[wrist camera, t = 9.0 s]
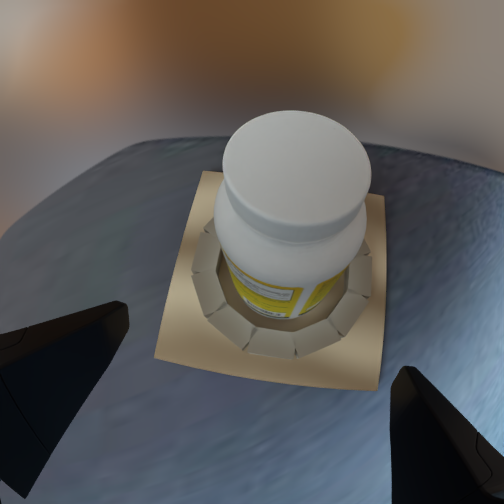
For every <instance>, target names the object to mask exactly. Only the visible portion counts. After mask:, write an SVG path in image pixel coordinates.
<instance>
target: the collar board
mask: <svg viewBox="0 0 504 504" xmlns="http://www.w3.org/2000/svg"><path fill="white" fill-rule="evenodd" d="M223 179H224V174H223V173H222V172H211V171H203V173H202V176H201V179H200V182H199V186H198V189H197V192H196V195H195V198H194V202H193V205H192V208H191V212H190V215H189V218H188V222H187V225H186V229H185V232H184V236H183V239H182V243H181V247H180V250H179V254H178V258H177V261H176V265H175V269H174V273H173V277H172V281H171V285H170V289H169V293H168V297H167V301H166V305H165V309H164V314H163V318H162V322H161V327H160V331H159V336H158V341H157V345H156V350H155V355H154V358H157V359H161V360H165V361H169V362H173V363H177V364H181V365H185V366H190V367H194V368H198V369H203V370H208V371H213V372H218V373H223V374H228V375H233V376H239V377H244V378H250V379H257V380H263V381H270V382H277V383H284V384H292V385H301V386H310V387H321V388H333V389H347V390H367V391H377V389H378V382H379V375H380V366H381V357H382V347H383V336H384V322H385V304H386V222H385V204H384V196H381V195H376V194H371V193H367V195H366V197H365V200H364V202H365V206H366V216H367V223H366V231H365V236H364V239H363V242H362V244H361V247H360V249H359V250H358V252H357V254H356V256H355V257H354V259H353V260H352V262H351V263H350V264H349V266H348V267H347V268H346V270H345V271H344V272H343V274H342V275H341V276H340V278H339V279H338V280H337V282H336V283H335V284H334V286H333V287H332V288H331V289H330V291H329V292H328V293H327V295H326V296H325V297H324V298H323V300H322V301H321V302H320V303H319V304H318V305H317V306H316V307H315V308H314V309H312V310H311V311H309V312H308V313H306V314H304V315H302V316H299V317H296V318H292V319H273V318H269V317H266V316H263V315H261V314H258V313H257V312H255V311H253V310H252V309H251V308H250V307H248V306H247V305H246V304H245V303H244V301H243V300H242V299H241V297H240V296H239V294H238V292H237V290H236V288H235V285H234V283H233V280H232V277H231V274H230V271H229V269H228V266H227V263H226V260H225V257H224V254H223V251H222V249H221V246H220V243H219V240H218V237H217V234H216V230H215V224H214V204H215V199H216V195H217V192H218V189H219V187H220V185H221V183H222V181H223Z"/></svg>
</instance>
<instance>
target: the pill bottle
mask: <svg viewBox="0 0 504 504" xmlns="http://www.w3.org/2000/svg"><path fill="white" fill-rule="evenodd" d="M223 174H224V179H223V181H222V183H221V185H220V187H219V189H218V192H217V195H216V199H215V204H214V224H215V230H216V234H217V237H218V240H219V243H220V246H221V249H222V251H223V254H224V257H225V260H226V263H227V266H228V269H229V271H230V274H231V277H232V280H233V283H234V285H235V288H236V290H237V292H238V294H239V296H240V297H241V299H242V300H243V301H244V303H245V304H246V305H247V306H248V307H250V308H251V309H252V310H253V311H255V312H257V313H258V314H261V315H263V316H266V317H269V318H273V319H292V318H296V317H299V316H302V315H304V314H306V313H308V312H309V311H311V310H312V309H314V308H315V307H316V306H317V305H318V304H319V303H320V302H321V301H322V300H323V298H324V297H325V296H326V295H327V293H328V292H329V291H330V289H331V288H332V287H333V286H334V284H335V283H336V282H337V280H338V279H339V278H340V276H341V275H342V274H343V272H344V271H345V270H346V268H347V267H348V266H349V264H350V263H351V262H352V260H353V259H354V257H355V256H356V254H357V252H358V250H359V249H360V247H361V244H362V242H363V239H364V236H365V231H366V223H367V216H366V206H365V202H364V200H365V197H366V195H367V193H368V191H369V187H370V183H371V166H370V161H369V158H368V155H367V153H366V151H365V149H364V147H363V146H362V144H361V143H360V141H359V140H358V139H357V138H356V137H355V136H354V135H353V134H352V133H351V132H350V131H349V130H348V129H347V128H345V127H344V126H343V125H341V124H339V123H338V122H336V121H334V120H331V119H330V118H327V117H325V116H322V115H319V114H315V113H311V112H305V111H278V112H272V113H268V114H265V115H262V116H259V117H256V118H255V119H253V120H251V121H249V122H247V123H246V124H244V125H243V126H241V127H240V128H239V129H238V130H237V131H236V132H235V133H234V135H233V136H232V137H231V139H230V140H229V142H228V144H227V146H226V149H225V152H224V155H223Z"/></svg>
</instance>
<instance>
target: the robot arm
mask: <svg viewBox="0 0 504 504" xmlns="http://www.w3.org/2000/svg"><path fill="white" fill-rule="evenodd" d="M128 329H129V314H128V306H127V304H125V303H123V302H120V301H112V302H109V303H106V304H102V305H99V306H96V307H92V308H89V309H86V310H82V311H79V312H76V313H73V314H69V315H66V316H63V317H59V318H56V319H52V320H49V321H46V322H42V323H39V324H36V325H32V326H29V327H28V328H27V327H25V328H22V329H19V330H15V331H11V332H8V333H4V334H0V481H1V480H2V481H3V482H5V483H6V484H7V485H8V486H9V487H10V488H12V489H13V490H14V491H15V492H16V493H18V494H19V495H20V496H21V497H23V498H24V499H25V498H26V497H27V496H28V494H29V492H30V490H31V489H32V487H33V485H34V483H35V481H36V480H37V478H38V476H39V475H40V473H41V471H42V469H43V468H44V466H45V464H46V463H47V461H48V459H49V458H50V456H51V454H52V452H53V451H54V449H55V447H56V446H57V444H58V443H59V441H60V439H61V438H62V436H63V434H64V433H65V431H66V430H67V428H68V427H69V425H70V423H71V422H72V420H73V419H74V417H75V416H76V414H77V412H78V411H79V409H80V408H81V406H82V405H83V403H84V402H85V400H86V399H87V397H88V396H89V394H90V393H91V391H92V390H93V388H94V387H95V385H96V384H97V382H98V381H99V379H100V378H101V376H102V375H103V373H104V372H105V371H106V369H107V367H108V366H109V364H110V363H111V361H112V359H113V357H114V355H115V354H116V352H117V350H118V348H119V346H120V344H121V342H122V341H123V339H124V337H125V335H126V333H127V332H128ZM390 444H391V468H392V504H504V457H503V456H502V455H501V454H500V453H499V452H498V451H497V450H496V449H495V448H494V447H493V446H492V445H491V444H490V443H489V442H488V441H487V440H486V439H485V438H484V437H483V436H482V435H481V434H480V433H479V432H477V430H476V429H475V428H474V426H473V425H472V424H471V423H470V422H469V421H468V420H467V419H466V418H465V417H464V416H463V415H462V414H461V413H460V412H459V411H458V410H457V409H456V408H455V407H454V406H453V405H452V404H451V403H450V402H449V401H448V400H447V399H446V398H445V397H444V395H443V394H442V393H441V392H440V391H439V390H438V389H437V388H436V387H435V386H434V385H433V384H432V383H431V382H430V381H429V380H428V379H427V378H426V377H425V376H424V375H423V374H422V373H421V372H420V371H419V370H418V369H417V368H415V367H413V366H403V367H402V368H401V369H400V371H399V373H398V374H397V376H396V378H395V380H394V381H393V383H392V385H391V395H390ZM0 504H1V500H0Z"/></svg>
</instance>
